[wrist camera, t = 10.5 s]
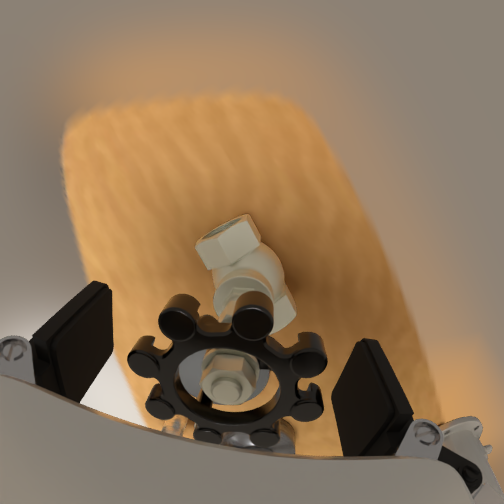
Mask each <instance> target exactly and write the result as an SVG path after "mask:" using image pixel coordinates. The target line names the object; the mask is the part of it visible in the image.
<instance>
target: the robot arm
mask: <svg viewBox="0 0 504 504" xmlns="http://www.w3.org/2000/svg"><path fill="white" fill-rule="evenodd" d="M32 336H33V338H32V339H31V340H30V341H29V342H28V340H27V339H25V338H23V337H20V336H7V337H4V338H2V339H1V340H0V504H504V494H503V492H502V490H501V488H500V485H499V483H498V481H497V479H496V477H495V475H494V473H493V471H492V469H491V467H490V465H489V463H488V461H487V459H488V456H487V454H489V453H491V451H492V446H491V445H486V446H482V444H481V442H480V440H479V438H480V436H481V433H482V429H483V427H482V424H481V422H480V421H479V419H478V418H476V417H472V416H468V417H462V418H458V419H455V420H452V421H450V422H447V423H445V424H443V425H441V426H439V427H438V426H437V425H436V424H435V423H433V422H432V421H429V420H427V419H416V420H415V421H414V420H413V417H412V415H413V414H414V412H413V410H412V408H411V406H410V404H409V402H408V400H407V397H406V395H405V393H404V391H403V389H402V387H401V385H400V383H399V381H398V379H397V377H396V375H395V373H394V371H393V369H392V367H391V365H390V363H389V361H388V359H387V357H386V355H385V354H384V352H383V350H382V348H381V346H380V344H379V342H378V341H377V340H373V339H366V338H363V339H362V340H361V341H358V342H357V343H356V344H355V346H354V349H353V351H352V353H351V355H350V357H349V359H348V361H347V363H346V365H345V367H344V370H343V372H342V374H341V376H340V378H339V380H338V382H337V384H336V385H335V387H334V389H333V391H332V395H331V400H332V404H333V409H334V413H335V418H336V423H337V427H338V432H339V437H340V441H341V446H342V451H343V456H310V455H294V454H282V453H272V452H264V451H255V450H248V449H241V448H235V447H229V446H223V445H218V444H213V443H208V442H203V441H198V440H194V439H189V438H185V437H181V436H177V435H173V434H169V433H165V432H162V431H158V430H154V429H151V428H147V427H144V426H141V425H138V424H134V423H131V422H128V421H125V420H122V419H119V418H117V417H113V416H111V415H108V414H106V413H103V412H100V411H97V410H95V409H92V408H90V407H87V406H85V405H82V404H80V401H81V399H82V398H83V397H84V395H85V393H86V392H87V390H88V389H89V387H90V386H91V384H92V383H93V381H94V380H95V378H96V377H97V375H98V374H99V372H100V370H101V369H102V367H103V366H104V364H105V363H106V362H107V360H108V359H109V357H110V356H111V354H112V352H113V347H114V342H113V317H112V290H111V289H109V287H108V285H107V284H104V283H101V282H98V281H92V282H91V283H90V284H89V285H88V286H86V287H85V288H84V289H83V290H82V291H81V292H80V293H78V294H77V295H76V296H75V297H74V298H73V299H71V300H70V301H69V302H68V303H67V304H66V305H65V306H64V307H62V308H61V309H60V310H59V311H58V312H57V313H56V314H55V315H54V316H53V317H51V318H50V319H49V320H48V321H47V322H46V323H45V324H44V325H43V326H42V327H41V328H40V329H39V330H37V331H36V333H34V334H33V335H32Z"/></svg>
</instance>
